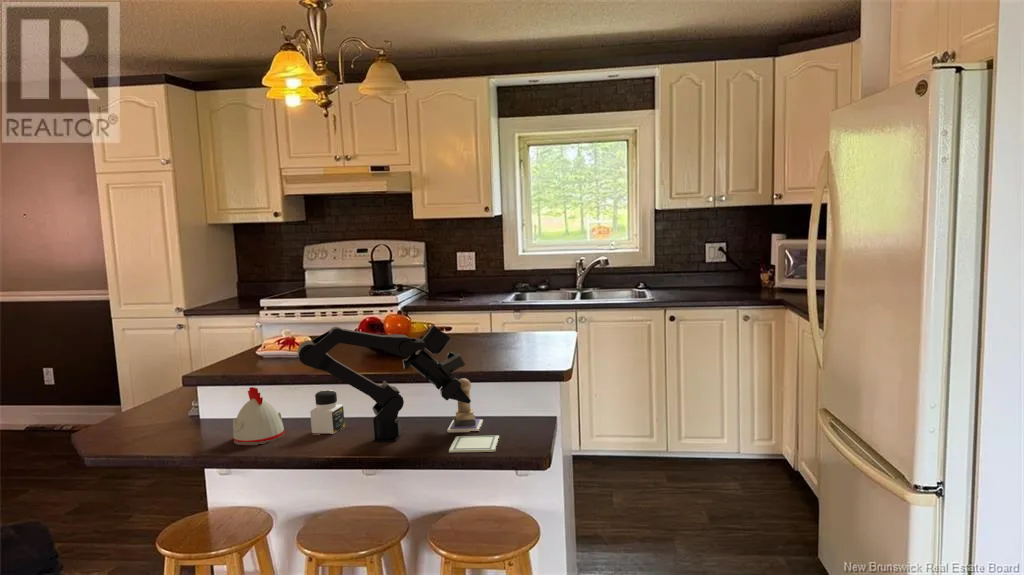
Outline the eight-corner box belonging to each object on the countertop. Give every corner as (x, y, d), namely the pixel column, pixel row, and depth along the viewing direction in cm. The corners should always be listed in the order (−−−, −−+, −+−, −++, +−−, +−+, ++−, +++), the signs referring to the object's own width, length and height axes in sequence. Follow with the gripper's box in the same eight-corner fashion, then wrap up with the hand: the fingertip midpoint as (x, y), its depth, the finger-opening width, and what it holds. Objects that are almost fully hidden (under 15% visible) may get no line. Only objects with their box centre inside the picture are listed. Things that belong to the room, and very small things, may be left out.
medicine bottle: (334, 435, 188) (330, 394, 187) (311, 434, 189) (308, 394, 188) (345, 427, 195) (342, 388, 194) (323, 427, 196) (320, 388, 195)
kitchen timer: (272, 427, 199) (267, 379, 197) (292, 436, 189) (288, 386, 187) (225, 439, 189) (221, 389, 188) (245, 449, 179) (240, 396, 178)
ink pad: (447, 432, 185) (447, 428, 185) (453, 422, 194) (452, 418, 194) (478, 431, 184) (478, 427, 184) (482, 422, 193) (482, 418, 193)
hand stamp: (454, 426, 186) (452, 381, 185) (454, 421, 191) (452, 377, 190) (475, 424, 187) (473, 379, 185) (474, 419, 192) (472, 375, 190)
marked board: (448, 452, 168) (448, 449, 168) (456, 438, 179) (456, 436, 179) (494, 451, 167) (494, 449, 167) (499, 437, 178) (499, 435, 178)
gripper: (451, 351, 177) (493, 386, 180) (443, 340, 195) (481, 372, 198) (424, 382, 176) (466, 417, 179) (418, 368, 194) (457, 400, 197)
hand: (468, 400), depth 188 cm, fingers closed on hand stamp, 4 cm apart
